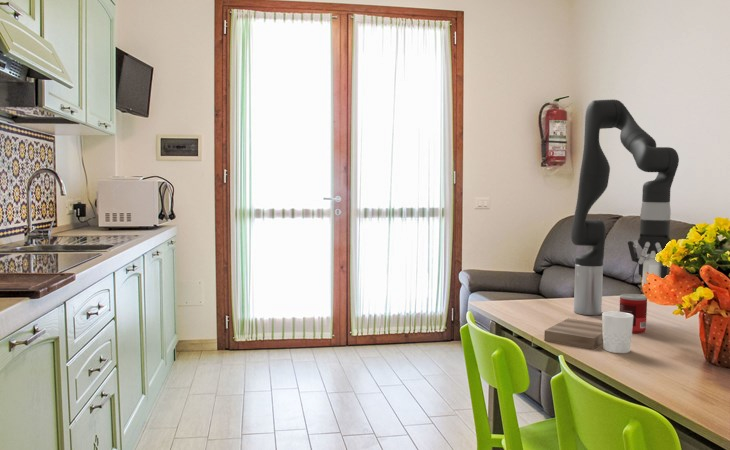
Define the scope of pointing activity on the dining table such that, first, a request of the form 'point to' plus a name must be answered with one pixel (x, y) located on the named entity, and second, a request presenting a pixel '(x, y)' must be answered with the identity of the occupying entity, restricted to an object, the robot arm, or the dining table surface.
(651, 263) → the eye dropper bottle
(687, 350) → the dining table surface
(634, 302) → the canned food
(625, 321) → the white cup
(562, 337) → the walnut base board
